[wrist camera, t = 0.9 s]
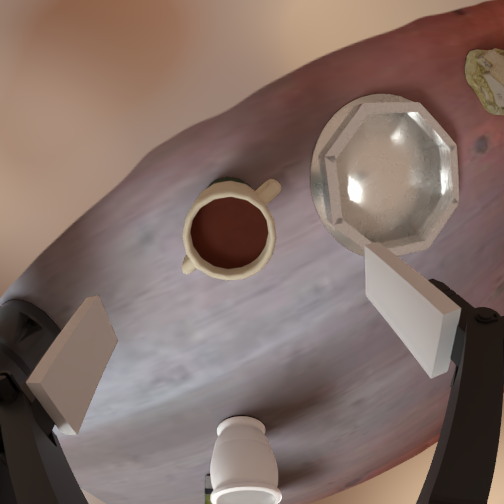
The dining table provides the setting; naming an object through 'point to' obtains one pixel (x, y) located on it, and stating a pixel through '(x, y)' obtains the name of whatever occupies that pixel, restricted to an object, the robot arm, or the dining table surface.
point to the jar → (243, 464)
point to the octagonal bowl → (384, 175)
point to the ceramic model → (487, 78)
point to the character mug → (230, 229)
